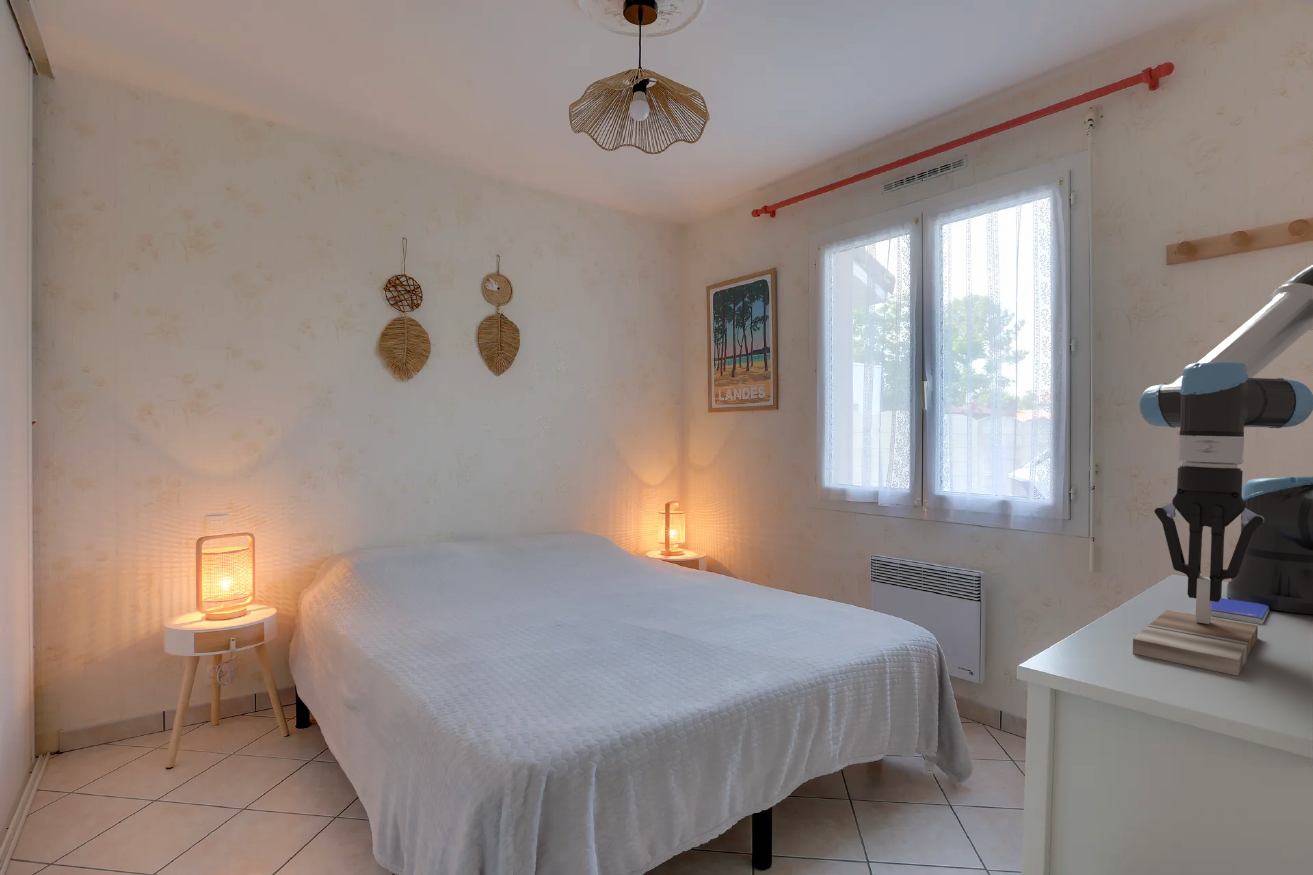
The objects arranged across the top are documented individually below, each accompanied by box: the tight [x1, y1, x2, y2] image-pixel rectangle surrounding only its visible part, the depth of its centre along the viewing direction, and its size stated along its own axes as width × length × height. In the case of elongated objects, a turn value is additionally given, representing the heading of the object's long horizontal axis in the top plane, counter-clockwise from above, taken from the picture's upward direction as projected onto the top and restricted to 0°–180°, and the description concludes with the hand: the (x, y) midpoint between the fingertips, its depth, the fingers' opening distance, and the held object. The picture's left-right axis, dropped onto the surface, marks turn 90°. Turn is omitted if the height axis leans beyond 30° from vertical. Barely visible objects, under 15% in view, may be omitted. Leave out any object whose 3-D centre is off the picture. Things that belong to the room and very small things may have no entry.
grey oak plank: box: [1132, 623, 1248, 677], centre depth 91 cm, size 10×11×2 cm
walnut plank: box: [1149, 609, 1259, 658], centre depth 100 cm, size 13×11×2 cm
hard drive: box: [1211, 597, 1270, 625], centre depth 115 cm, size 2×8×12 cm
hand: (1203, 620), depth 101 cm, fingers closed
